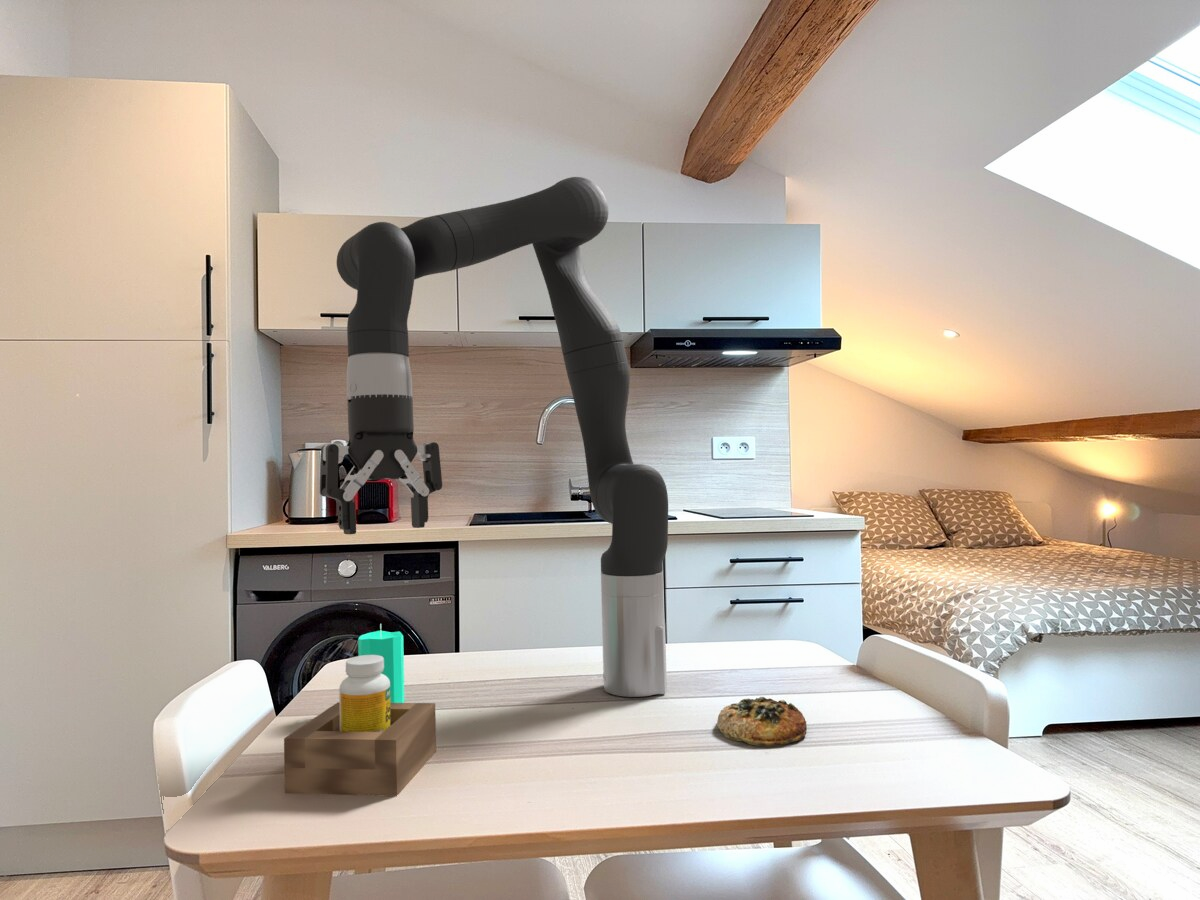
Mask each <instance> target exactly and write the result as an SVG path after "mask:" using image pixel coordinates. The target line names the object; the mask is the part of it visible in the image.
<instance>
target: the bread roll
mask: <svg viewBox="0 0 1200 900" xmlns="http://www.w3.org/2000/svg"><path fill="white" fill-rule="evenodd" d="M716 723H717V724H716V725H717V728H718V730H719V731H720V733H721V734H722V735H723V736H724V737H726V738H728V739H730V740H732V741H737V742H744V743H747V744H748V745H752V746H755V747H776V746H777V747H778V746H785V745H790V744H791V743H794V742H799V741H801V740H802V739H803V738H804V737H805V736H806V735H807V729H808V727H807V721H806V717H805V716H804V715H803V712H802V711H801V710H800V709H798V708H797V707H796V706H795V705H794V704H793V703H791V702H789V703H787V701H785V700H784V699H780V700H778V701H777V700H774V699H772V698H771V697H770V698H766V697H765V696H760V697H756V698H754V699H753V698H742V699H741V700H740V701H739V702H736V703H731V704H730V705H726V706H724V707H723V708H722V709H721V710H720V712H719V714H718V716H717V722H716Z"/></svg>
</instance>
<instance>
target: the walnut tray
mask: <svg viewBox="0 0 1200 900" xmlns="http://www.w3.org/2000/svg"><path fill="white" fill-rule="evenodd" d="M436 723H437V722H436V703H435V702H404V703H390V727H389V728H388V729H386V730H385V731H384V732H348V731H340V703H339V702H338V701H337V702H336V703H334V704H333V705H332V706H330V707H329V708H327V709H325V710H324V711H322V712H321V713H320V714H318V715H317V716H315V717H314V718H312V719H311V720H309V721H308V722H306V723H305V724H303V725H302V726H300V727H299V728H297V729H296V730H295V731H293V732H291V733H290V734H288V735H287V736H285V737H284V738H283V752H284V753H283V754H284V755H283V757H284V758H283V759H284V761H283V763H284V765H283V766H284V794H293V795H294V794H296V795H297V794H299V795H302V794H305V795H337V796H343V795H344V796H372V795H384V796H383V797H398V796H399V795H400V793H401V792H402V791H403V790H404V789H405V788H406V787H407V786H408V785H409V783H410V782H412V780H413V779H414V778H415V776H417V774H419V772H420V771H421V770H422V769H423V767H424V766H425V765H426V764H427V763H428V762H429V761H430V760H431V758H432V757H433V756H434V755H435V754H436V753H437V732H436V731H437V726H436ZM427 761H428V762H427ZM426 762H427V763H426ZM420 769H421V770H420ZM385 795H387V796H385ZM397 795H398V796H397Z"/></svg>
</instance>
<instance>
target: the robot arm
mask: <svg viewBox="0 0 1200 900" xmlns="http://www.w3.org/2000/svg"><path fill="white" fill-rule="evenodd" d="M608 219H609V205H608V200H607V198H606V196H605V194H604V192H603V191H602V189H601V188H600V187H599V186H598V185H597V184H596V183H595V182H593V181H592V180H590V179H588V178H586V177H583V176H570V177H568V178H564V179H561V180H559V181H557V182H556V183H555V184H553V185H551V186H549V187H547V188H545V189H542V190H539V191H536V192H533V193H531V194H527V195H525V196H521V197H518V198H514V199H510V200H509V199H508V200H506V201H501V202H498V203H493V204H492V203H491V204H488V205H483V206H478V207H477V206H476V207H472V208H466V209H461V210H456V211H451V212H445V213H441V214H435V215H431V216H426V217H424V218H420V219H418V220H416V221H414V222H412V223H411V224H409V225H407V226H404V227H401V228H400V227H399V226H397V225H395V224H394V223H391V222H386V221H377V222H374V223H373V222H372V223H371V224H368V225H366V226H365V227H363V228H362V229H361V230H359V231H358V232H356V233H355V234H354V235H352V236H350V238H348V239H347V240H345V242H343V243H342V245H341V247H340V248H339V250H338V252H337V255H336V268H337V273H338V274H339V276H340V279H341V280H342V281H344V283H345V284H346V285H347V286H349V287H350V288H351V289H353V290H355V291H357V293H356V294H357V295H356V302H355V305H354V306H353V308H352V309H351V311H350V313H349V314H348V318H347V326H346V332H347V333H346V334H347V336H346V337H347V367H346V401H347V423H348V424H347V426H348V427H347V428H348V429H347V430H348V432H347V433H348V442H347V444H346V445H337V444H336V443H330V444H326V445H322V446H321V447H320V464H319V465H320V466H319V467H320V468H319V469H320V470H319V494H320V496H321V497H323V498H325V497H326V498H330V499H333V500H334V501H336V503H337V518H338V519H337V520H338V521H337V522H338V523H337V525H338V527H339V530H342V531H343V534H345V535H356V533H357V517H356V515H357V514H356V501H353V499H354V498H355V496H356V494H357V493H358V491H359V490H360V489H361V488H362V487H363V486H364V485H365V484H366V482H367V481H377V480H379V481H380V480H399V482H400V483H402V485H405V487H406V488H407V490H408V491H409V492H410V493H411V495H412V497H410V511H411V512H410V514H411V515H410V516H411V526H412V528H414V529H415V528H416V529H421V528H425V526H426V525H425V524H426V523H428V521H429V495H430V494H432V493H435V492H436V491H440V490H441V489H442V488H443V478H442V476H443V475H442V469H441V468H442V467H441V457H440V447H439V443H437V442H435V441H434V442H427V443H423V444H416V442H415V439H414V428H415V427H414V402H413V401H414V400H413V393H414V387H413V377H412V375H413V374H412V371H411V369H412V368H411V364H410V358H409V357H410V351H409V350H410V349H409V344H410V343H409V329H408V318H409V314H410V309H411V304H412V297H413V291H414V285H415V280H417V279H420V278H423V277H426V276H431V275H436V274H441V273H447V272H452V271H455V270H459V269H463V268H466V267H467V268H468V267H470V266H474V265H477V264H479V263H483V262H486V261H489V260H491V259H494V258H497V257H500V256H502V255H504V254H507V253H509V252H512V251H514V250H517V249H520V248H524V247H526V246H529V245H532V247H533V249H534V253H535V255H536V258H537V262H538V265H539V268H540V271H541V272H542V276H543V279H544V282H545V285H546V289H547V293H548V296H549V300H550V305H551V309H552V313H553V316H554V321H555V324H556V328H557V332H558V336H559V341H560V347H561V352H562V357H563V361H564V366H565V370H566V374H567V379H568V382H569V386H570V391H571V394H572V398H573V403H574V407H575V408H574V409H575V413H576V416H577V417H576V418H577V420H578V424H579V428H580V432H581V433H580V434H581V438H582V443H583V449H584V456H585V457H584V458H585V463H586V471H587V480H588V488H589V494H590V501H591V503H592V506H593V508H594V510H595V512H596V514H597V515H598V516H599V517H600V518H601V519H602V520H603V521H605V522H606V523H609V524H611V528H612V530H611V542H610V545H609V547H608V548H607V549H606V550H605V551H604V552H603V553H602V554H601V557H600V585H601V587H600V588H601V590H600V592H601V626H602V627H601V628H602V629H601V630H602V632H601V634H602V664H603V665H602V669H603V672H602V678H603V690H604V691H605V692H607V693H608V694H611V695H614V696H619V697H629V698H631V697H632V698H633V697H635V698H639V697H641V698H642V697H648V696H653V695H655V696H656V695H665V694H666V689H667V683H668V682H667V645H666V619H665V609H664V606H665V604H664V576H663V575H664V573H663V571H664V569H663V568H664V567H663V563H664V558H665V557H666V554H667V551H668V542H669V541H668V540H669V538H668V536H669V535H668V534H669V498H668V497H669V496H668V489H667V485H666V482H665V480H664V478H663V476H662V475H661V473H660V472H659V471H658V470H657V469H656V468H654V467H652V466H650V465H646V464H643V463H642V464H641V463H639V464H638V463H637V464H635V463H634V461H633V458H632V455H631V451H630V446H629V443H628V442H629V441H628V437H627V432H626V417H627V407H628V402H629V393H630V367H629V361H628V357H627V351H626V348H625V344H624V339H623V335H622V332H621V330H620V327H619V325H618V323H617V322H616V320H615V319H614V317H613V316H612V314H611V313H610V311H609V310H608V309H607V308H606V306H605V305H604V304H603V303H602V302H601V300H600V299H599V298H598V296H597V295H596V294H595V292H594V291H593V289H592V287H591V285H590V282H589V281H588V278H587V276H586V273H585V269H584V264H583V261H582V255H581V250H580V249H581V248H580V246H583V245H584V244H586V243H588V242H590V241H592V240H593V239H594V238H596V237H597V236H598V235H599V234H601V232H602V231H603V230H604V229H605V226H606V225H607V223H608ZM345 456H346V457H347V458H348V460H349V462H350V463H352V465H353V467H351V469H350V471H349V472H348V473H347V475H346V477H345V478H344V481H343V482H342V485H341V486H340V487H339V485H338V484H339V464H342V462H343V460H344V457H345ZM416 456H418V459H419V461H421V462H422V470H423V479H422V478H421V474H420V473H419V472H418V470H416V469H417V468H415V467H414V465H413V464H412V462H413V461H414V459H415V457H416Z"/></svg>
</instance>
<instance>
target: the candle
mask: <svg viewBox="0 0 1200 900" xmlns="http://www.w3.org/2000/svg"><path fill="white" fill-rule="evenodd" d="M379 629H380V630H376V631H372V632H371V631H370V632H367V633H365V634H361V635H360V636H359V637H358V639H357V647H358V649H357V650H358V651H357V652H358V655H357V656H362V655H379V656H382V657H383V658H384V669H383V671H382V672H381V674H384V675H385V676H387V677H388V679H389V681H390V703H405V668H404V666H405V661H404V660H405V659H404V656H405V654H404V635H403V633H402V632H401V631H394V632H393V631H392V632H390V631H386V630H382V623H380V624H379Z"/></svg>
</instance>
